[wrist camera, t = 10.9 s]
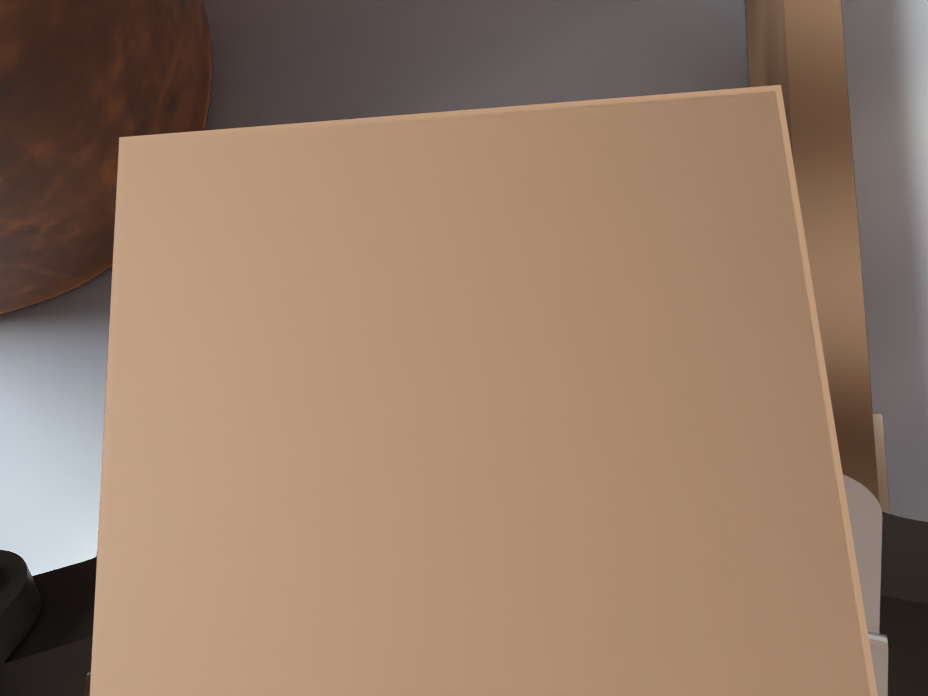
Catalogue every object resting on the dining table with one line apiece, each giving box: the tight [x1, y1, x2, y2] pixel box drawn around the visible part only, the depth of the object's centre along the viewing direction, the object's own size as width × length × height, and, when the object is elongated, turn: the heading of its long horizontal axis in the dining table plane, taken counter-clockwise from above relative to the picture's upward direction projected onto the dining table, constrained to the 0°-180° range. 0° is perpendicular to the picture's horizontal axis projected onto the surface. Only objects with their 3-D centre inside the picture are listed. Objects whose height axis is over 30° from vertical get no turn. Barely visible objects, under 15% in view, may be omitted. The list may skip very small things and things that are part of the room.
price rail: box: [745, 0, 890, 514], centre depth 19 cm, size 24×2×3 cm, turn 178°
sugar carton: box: [90, 85, 878, 696], centre depth 12 cm, size 6×6×12 cm
